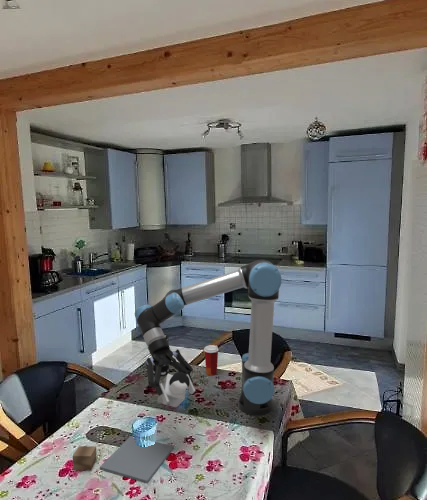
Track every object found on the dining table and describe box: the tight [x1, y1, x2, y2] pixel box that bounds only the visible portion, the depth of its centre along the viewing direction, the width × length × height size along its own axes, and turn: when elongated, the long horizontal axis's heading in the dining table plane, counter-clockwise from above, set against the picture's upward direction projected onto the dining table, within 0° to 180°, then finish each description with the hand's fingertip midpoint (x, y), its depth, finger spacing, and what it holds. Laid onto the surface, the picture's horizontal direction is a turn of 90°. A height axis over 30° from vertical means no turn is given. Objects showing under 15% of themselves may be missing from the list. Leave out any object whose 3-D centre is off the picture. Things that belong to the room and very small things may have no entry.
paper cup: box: [203, 344, 219, 376], centre depth 189 cm, size 8×8×14 cm
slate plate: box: [99, 435, 175, 484], centre depth 123 cm, size 18×18×1 cm
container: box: [156, 371, 190, 408], centre depth 128 cm, size 8×8×13 cm
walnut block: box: [72, 445, 98, 471], centre depth 120 cm, size 6×5×5 cm
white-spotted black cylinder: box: [152, 333, 170, 378], centre depth 189 cm, size 8×8×20 cm
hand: (180, 397), depth 126 cm, fingers closed on container, 10 cm apart
